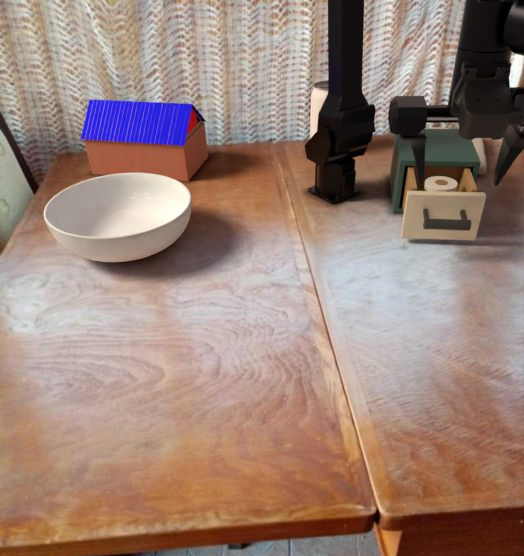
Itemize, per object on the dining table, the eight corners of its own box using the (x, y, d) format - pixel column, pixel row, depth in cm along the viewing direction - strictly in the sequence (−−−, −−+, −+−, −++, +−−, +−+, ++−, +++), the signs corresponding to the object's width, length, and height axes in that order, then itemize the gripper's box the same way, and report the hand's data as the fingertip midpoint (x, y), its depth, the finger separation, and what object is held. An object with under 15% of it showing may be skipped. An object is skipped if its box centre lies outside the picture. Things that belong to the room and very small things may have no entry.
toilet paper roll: (413, 213, 82) (418, 181, 78) (433, 204, 84) (438, 172, 80) (437, 224, 79) (444, 192, 75) (457, 214, 81) (464, 182, 77)
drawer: (480, 257, 74) (492, 211, 69) (403, 254, 75) (410, 209, 71) (462, 201, 86) (472, 159, 82) (396, 199, 88) (402, 158, 83)
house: (189, 182, 98) (180, 115, 90) (89, 174, 102) (73, 110, 94) (210, 156, 106) (203, 93, 98) (117, 150, 110) (104, 89, 103)
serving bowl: (173, 287, 73) (165, 242, 68) (31, 276, 76) (15, 232, 71) (211, 214, 88) (207, 173, 83) (91, 208, 91) (81, 168, 87)
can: (340, 156, 104) (345, 90, 96) (307, 155, 105) (309, 89, 97) (343, 144, 108) (348, 80, 100) (312, 143, 110) (313, 79, 102)
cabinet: (468, 215, 85) (481, 161, 79) (393, 213, 86) (400, 160, 80) (456, 178, 95) (467, 129, 89) (389, 177, 96) (395, 128, 90)
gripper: (402, 67, 54) (386, 212, 64) (602, 64, 51) (552, 214, 61) (395, 42, 62) (381, 174, 72) (567, 38, 60) (528, 175, 70)
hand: (457, 184), depth 69 cm, fingers open, 9 cm apart
